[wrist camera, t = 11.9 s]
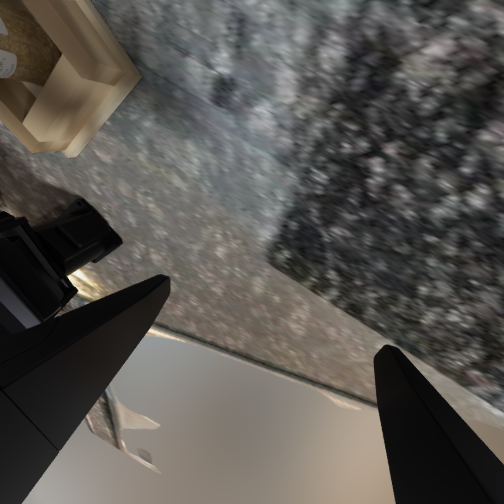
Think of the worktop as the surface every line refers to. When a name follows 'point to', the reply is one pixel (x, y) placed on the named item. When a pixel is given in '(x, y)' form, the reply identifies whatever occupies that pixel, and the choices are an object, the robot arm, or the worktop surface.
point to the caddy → (68, 80)
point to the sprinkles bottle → (25, 47)
